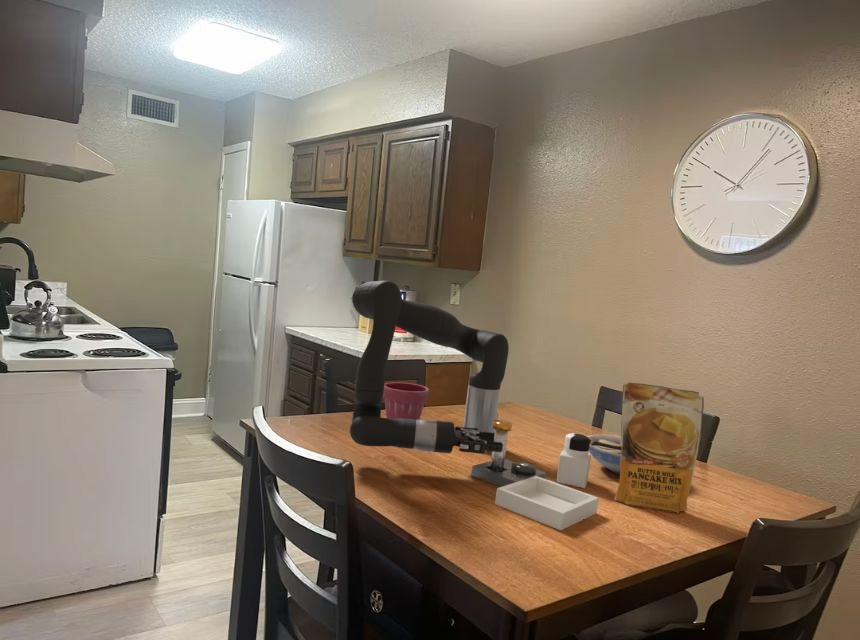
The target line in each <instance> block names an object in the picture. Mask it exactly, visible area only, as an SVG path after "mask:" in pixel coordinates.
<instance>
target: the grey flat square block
mask: <svg viewBox="0 0 860 640" xmlns="http://www.w3.org/2000/svg"><path fill="white" fill-rule="evenodd" d="M490 466H491V460H490V461H486V462H482V463H477V464H475V465H472V467H471V474H470V477H473V478H475V479H479V480H481V481H483V482H486V483H489V484H491V485H494V486H497V487H498V488H500V487H503V486H506V485H509V484H512V483H515V482H518V481H521V480H524V479H528V478H531V477H534V476H538V477H541V478H544V479H546V476H547V475H546V474H547V472H545V471H542V470H539V469H537V467H536V465H534V464H531V463H528V462H523V461H512V460H510V459H508V458H507V459H506V458H505V461H504V469H503V472H496V471H493V470H490Z"/></svg>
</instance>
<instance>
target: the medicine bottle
mask: <svg viewBox="0 0 860 640" xmlns="http://www.w3.org/2000/svg"><path fill="white" fill-rule="evenodd" d="M589 446H590V439H589V438H588V437H587V435H585V434H580V433H573V432H571V433H568V434H566V435H565V439H564V446H563V449H562V450H561V452H560V454H559V458H558V465H557V466H558V467H557V473H556V474H557V475H556V481H555V483H558V484H561V485H566V484H567V485H568V486H571V485H572V487H576V488H580V487H581V489H586V487H587V484H588V480H589V473H590V467H591V458H592V455H591V453H590V451H589ZM567 485H566V486H567Z"/></svg>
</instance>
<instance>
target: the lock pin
mask: <svg viewBox="0 0 860 640" xmlns="http://www.w3.org/2000/svg"><path fill="white" fill-rule="evenodd" d="M512 427H513V423H512V422H511V421H508V420H501V419H498V420H494V421H493V428H494V429H495V435H494V442H501V443H502V444H503V449H502V452H493V451H491V460H490V461H491V466H490V470H493V471H496V472H503V469H504V461H505V459H506V453H507V444H508V443H507V442H508V438H509V437H508V436H509V432H511V431H512V429H513V428H512Z"/></svg>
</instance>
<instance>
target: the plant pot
mask: <svg viewBox="0 0 860 640" xmlns="http://www.w3.org/2000/svg"><path fill="white" fill-rule="evenodd" d="M429 390H430V389H429V388H428V387H427V386H424V385H421V384H418V383H417V384H416V383H413V382H412V383H410V382H402V381H401V382H400V381H399V382H397V381H393V382H387V383H386V382H385V385H384V394H383V399H384V406H385V407H384V408H385V416H386V417H385V418H388V419H396V418H405V419H415V420H421V415H422V413H423V410H424V407H425V403H427V402H428V401H429V395H430V394H429V393H430V391H429Z"/></svg>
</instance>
